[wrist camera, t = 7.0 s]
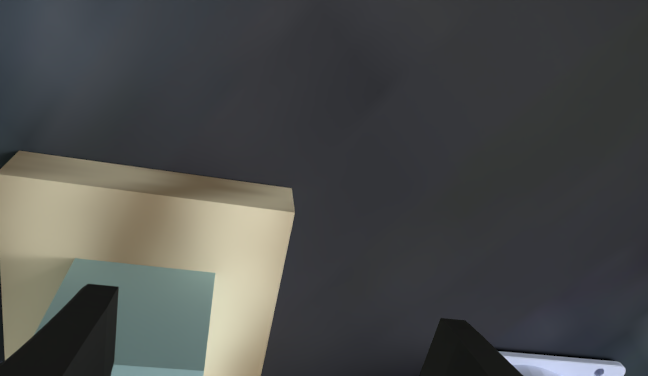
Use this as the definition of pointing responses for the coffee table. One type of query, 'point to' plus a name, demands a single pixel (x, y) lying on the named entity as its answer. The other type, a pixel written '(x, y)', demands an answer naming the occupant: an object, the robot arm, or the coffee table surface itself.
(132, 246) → the maple base
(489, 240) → the coffee table surface
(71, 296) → the teal cube
